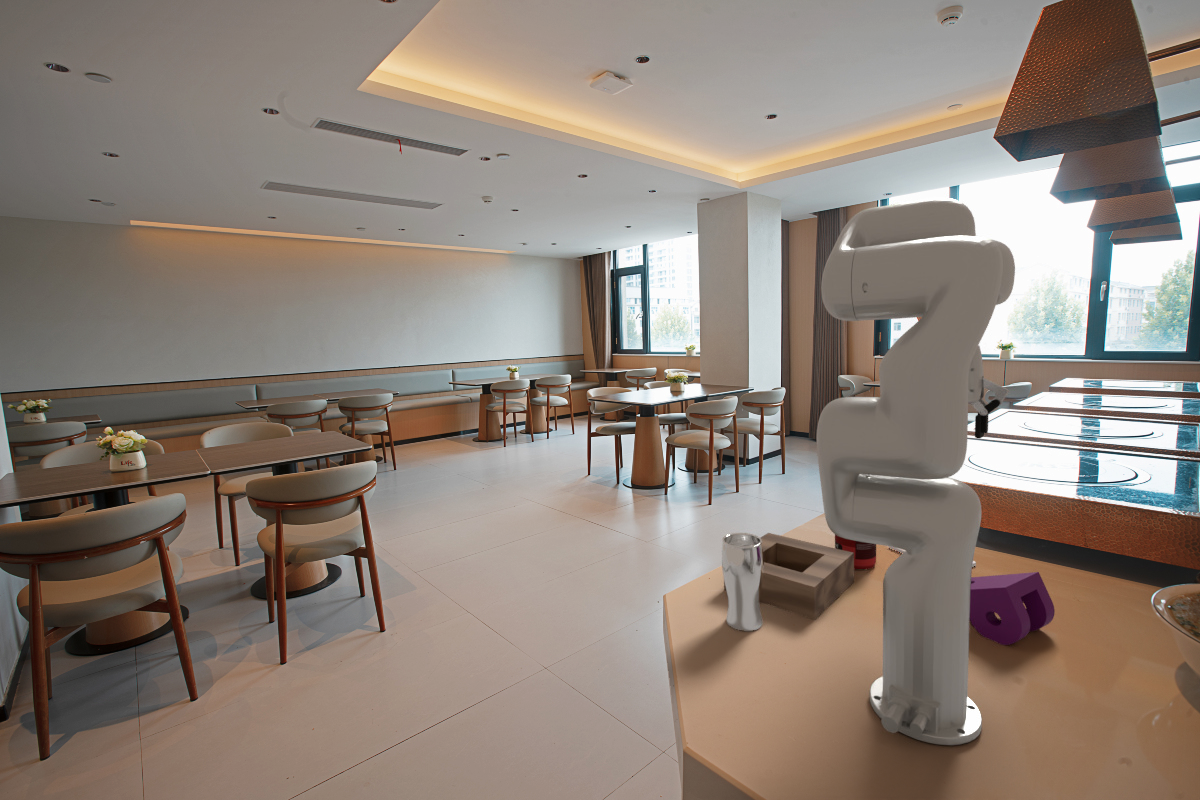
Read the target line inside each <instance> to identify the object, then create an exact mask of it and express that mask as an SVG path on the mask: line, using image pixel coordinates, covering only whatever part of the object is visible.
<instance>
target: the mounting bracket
mask: <svg viewBox="0 0 1200 800" xmlns="http://www.w3.org/2000/svg"><path fill="white" fill-rule="evenodd" d="M996 615H997V616H998V617H999V618H998V617H997V616H996ZM1054 617H1055V605H1054V602H1053V600H1052V598H1051V595H1050V593H1049V591H1048V589H1047V587H1046V585H1045V582H1044V581H1043V578H1042V576H1041V574H1040V571H1034V572H1020V573H1010V574H1009V573H1008V574H1007V573H1006V574H998V575H997V574H996V575H985V576H984V575H983V576H973V577H972V576H971V588H970V618H969V622H970V623H971V625H972V626H973V627H974V630H975V631H976V632H978V634H980V635H981V636H982V637H983V638H986V639H988V640H990V641H993V642H996V643H997V644H999V645H1003V646H1008V645H1012V644H1015V643H1016V642H1018V641H1020V640H1022V639H1023V638H1025V637H1026V636H1027V635H1028V634H1029V632H1034V631H1039V630H1040V629H1042V628H1045V626H1047V625H1049V624H1050V623H1051V622H1052V621H1053V619H1054Z"/></svg>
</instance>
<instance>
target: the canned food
mask: <svg viewBox="0 0 1200 800" xmlns="http://www.w3.org/2000/svg"><path fill="white" fill-rule="evenodd" d="M834 548H836V549H840V550H844V551H849V552H853V553H854V570H856V569H867V570H870V568H871V569H873V568H874V567H875V566H876V563H877V544H872V543H866V542H860V541H855V540H850V539H845V538H842V537H839V536H837V535H835V534H834Z"/></svg>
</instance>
